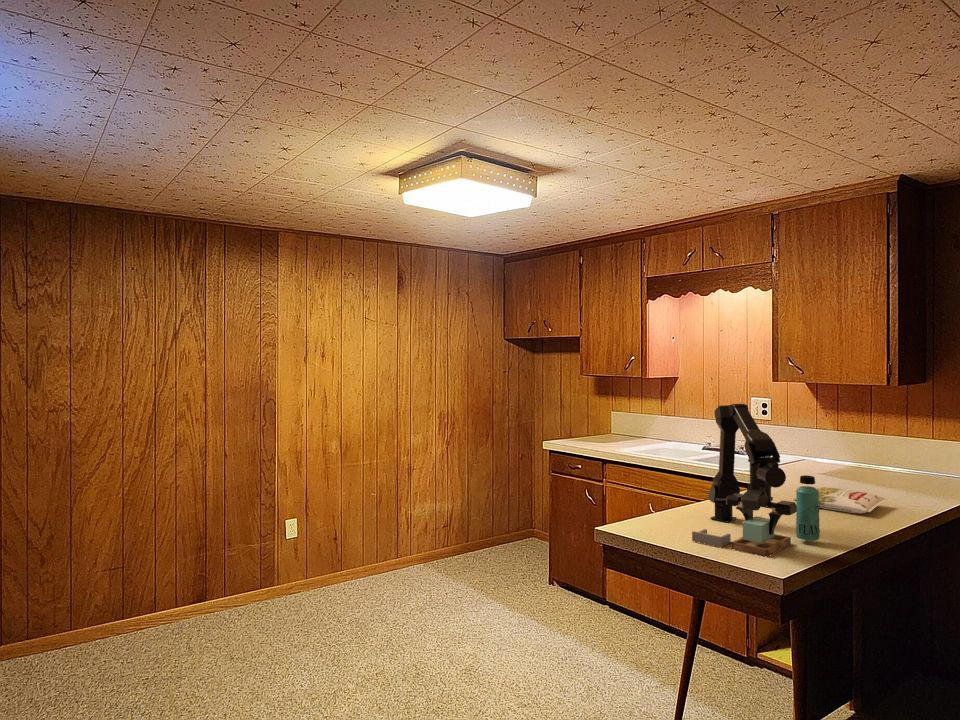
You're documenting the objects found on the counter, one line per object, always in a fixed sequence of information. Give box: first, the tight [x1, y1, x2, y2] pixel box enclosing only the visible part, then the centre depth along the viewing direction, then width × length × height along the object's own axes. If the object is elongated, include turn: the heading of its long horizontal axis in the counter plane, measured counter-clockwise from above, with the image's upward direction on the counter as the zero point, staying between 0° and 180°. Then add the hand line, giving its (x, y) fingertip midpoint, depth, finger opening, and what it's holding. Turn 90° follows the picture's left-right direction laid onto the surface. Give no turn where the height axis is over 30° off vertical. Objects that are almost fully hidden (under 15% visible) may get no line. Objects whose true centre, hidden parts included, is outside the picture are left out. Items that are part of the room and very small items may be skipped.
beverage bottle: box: [795, 475, 821, 542], centre depth 195 cm, size 6×7×20 cm
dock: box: [691, 528, 732, 548], centre depth 197 cm, size 7×9×3 cm
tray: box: [730, 533, 792, 558], centre depth 192 cm, size 17×11×2 cm, turn 134°
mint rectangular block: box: [742, 516, 776, 543], centre depth 192 cm, size 10×6×5 cm, turn 134°
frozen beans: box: [792, 486, 887, 514], centre depth 235 cm, size 21×6×25 cm
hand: (760, 532), depth 192 cm, fingers closed on mint rectangular block, 5 cm apart
